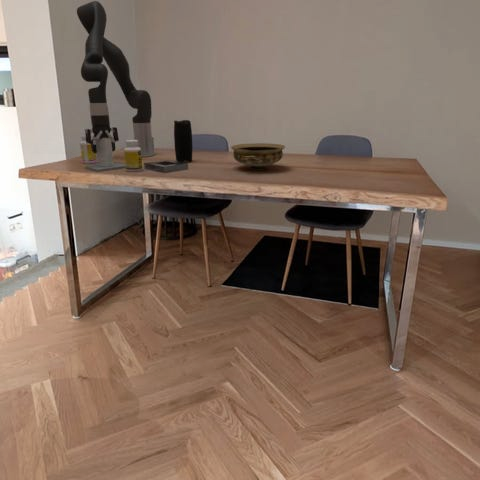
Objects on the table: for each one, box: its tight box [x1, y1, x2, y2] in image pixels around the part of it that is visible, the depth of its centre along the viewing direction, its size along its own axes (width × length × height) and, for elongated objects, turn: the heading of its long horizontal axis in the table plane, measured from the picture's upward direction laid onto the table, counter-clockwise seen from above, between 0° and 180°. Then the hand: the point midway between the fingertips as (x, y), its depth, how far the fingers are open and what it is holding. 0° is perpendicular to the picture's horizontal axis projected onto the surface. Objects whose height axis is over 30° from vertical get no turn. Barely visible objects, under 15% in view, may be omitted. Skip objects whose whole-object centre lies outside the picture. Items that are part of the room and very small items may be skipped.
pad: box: [84, 162, 126, 173], centre depth 178 cm, size 14×12×1 cm
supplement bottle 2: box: [123, 139, 143, 173], centre depth 171 cm, size 7×7×13 cm
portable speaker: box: [173, 119, 193, 163], centre depth 192 cm, size 9×9×20 cm
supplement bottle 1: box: [79, 134, 97, 164], centre depth 191 cm, size 7×7×13 cm
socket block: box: [143, 159, 189, 174], centre depth 176 cm, size 13×15×2 cm
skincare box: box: [95, 138, 115, 167], centre depth 176 cm, size 6×4×12 cm
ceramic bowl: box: [230, 142, 286, 171], centre depth 175 cm, size 30×24×10 cm
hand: (104, 152), depth 176 cm, fingers open, 8 cm apart
